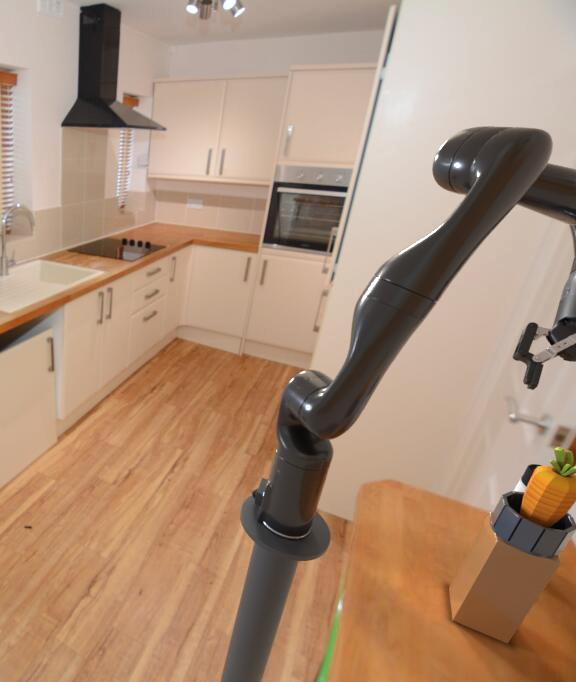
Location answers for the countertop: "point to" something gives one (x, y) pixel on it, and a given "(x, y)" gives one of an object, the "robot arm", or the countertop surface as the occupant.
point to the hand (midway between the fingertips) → (571, 397)
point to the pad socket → (507, 569)
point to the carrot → (550, 491)
